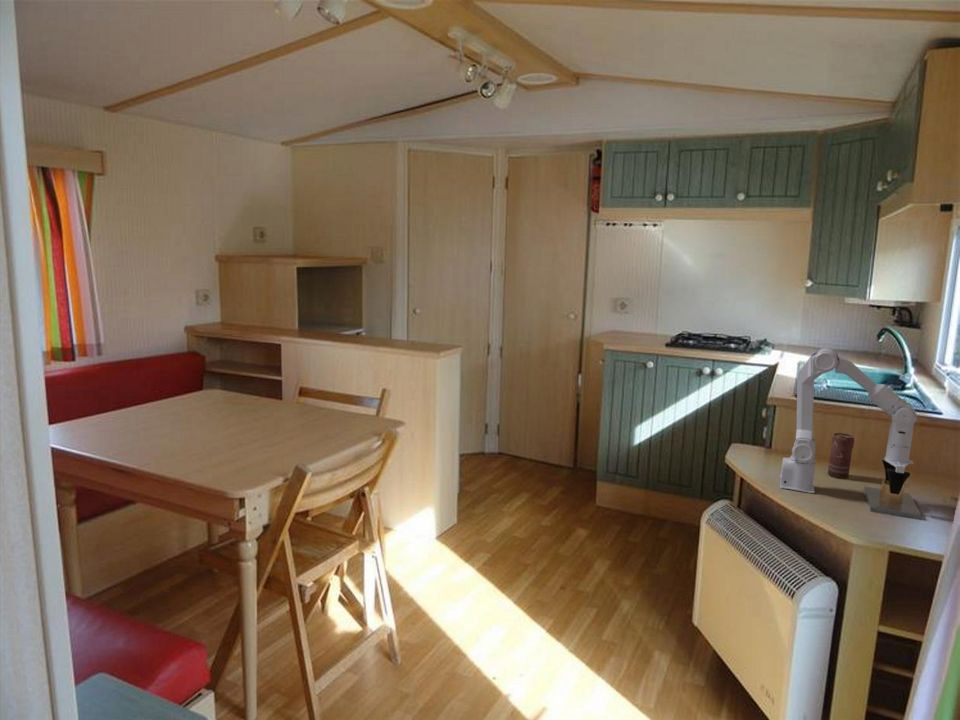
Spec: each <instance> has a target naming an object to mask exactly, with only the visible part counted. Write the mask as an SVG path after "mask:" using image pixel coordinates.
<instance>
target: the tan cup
mask: <svg viewBox="0 0 960 720" xmlns="http://www.w3.org/2000/svg"><path fill="white" fill-rule="evenodd" d="M888 483H889V480H886V479H885V480H881V485H880V489H881V491H880V499H882V500H883V501H886V502H890V503H902V501H903V494H904V493H905V487H906V486H905V483H904V484H903V486H902V489H901V491H900V493H899V494H892V493H890V487H889V484H888Z"/></svg>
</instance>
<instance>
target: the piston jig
mask: <svg viewBox="0 0 960 720" xmlns="http://www.w3.org/2000/svg"><path fill="white" fill-rule="evenodd" d="M888 484H889V483H888ZM862 489H863V490H862V491H863V494H864V497H865V500H866V503H867V506H868V508H869V511H870V512H872V513H873V512H874V513H879V514H884V515H891V516H896V517H903V518H908V519H914V520H918V521H919V520H921V518H922V517H921V515H922V514H921V513H920V510H919V508H918V506H917V505H916V503H915V501H914V499H913V497H912V495H911V494H910V493H907V492H904V494H903V501H902V503H890V502H886V501H883V500H882V499H880V491H881V488H875V487H870V486H863V488H862Z"/></svg>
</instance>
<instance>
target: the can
mask: <svg viewBox="0 0 960 720" xmlns="http://www.w3.org/2000/svg"><path fill="white" fill-rule="evenodd" d="M854 444H855V437H854V436H853V435H851V434H846V433H842V432H841V433H840V432H837V433H833V435H832V438H831V444H830V445H831V446H830V452H829V458H828V459H829V461H828V467H827V474H828V476H830V477H832V478H834V479H838V480H839V479H841V480H844V479H845V480H846V479H848V478H849V477H850V476H849V475H850V469H851V461H852V455H853V448H854Z"/></svg>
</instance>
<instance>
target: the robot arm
mask: <svg viewBox="0 0 960 720" xmlns="http://www.w3.org/2000/svg"><path fill="white" fill-rule="evenodd" d="M833 370H834V373H835V374H842V375H843V374H844V375H846V377H848V378H850V379H851V380H852V381H854V382H855V383H856V384H858V385H859V386H860V387H861V388H863V390H865V391H866V392H867V394H868V395H867V396H868V399H869V400H870V401H871V402H873V404H875V405H876V406H877V407H878V408H880V409H881V410H882V411H883V412H884V413H885V414H887V415H890V416H891V423H890V427H889V430H888V431H889V432H888V438H887V443H886V449H885V450H886V451H885V452H886V453H885V456H884V458H883V459H882V460H881V462H882V464H883V468H884V475H885V480H889V487H890V493H892V494H899V493H900V491H901V489H902V486H903V484H904V485H905V483H906V481H907V480H908V479H909V477H910V476H911V473H910V472H909V471H905V469H906V467H908V466H909V465H914V461H913V460H911V459H910V453H911V447H912V441H913V435H914V430H913V429H914V424H915V423H916V422H917V419H918V417H917V412H916V410H915V408H914V406H912V405H911V403H909V402H907V399H905V398H902V397H900V395H898V394H897V393H895V392H894V389H893V387H892V386H890V385H886V384H884V383H881V384H877V383H876V382H875V381H874V380H873V379H871V378H870V376H868V375H867V374H866V373H865V372H864V371H862V369H860V368H859V367H858V366H856V365H855V364H854V362H852V361H851V360H849V359H848V358H847V357H846V356H844V355H843V354H840V353H838V352H837V351H836V350H835V349H833V348H832V347H822V348H820V349H818V350H816V351H814V352H813V353H812V354H811V355H810V357H809V358H808V359H807V360H806V362H804V364H803V365H802V367H801V368H800V369H798V372H797V381H796V382H797V383H796V385H797V388H796V431H795V433H796V434H795V440H794V443H793V447H792V449H791V455H790V457H783V458H782V463H781V471H780V472H781V473H780V474H779V479H778V480H779V483H780V485H779V487H780V488H781V489H785V490H786V489H787V490H792V491H798V492H803V493H809V494H815V485H814V480H815V479H814V478H815V470H816V465H817V460H816V458H815V456H816V450H817V443H816V441H815V438H814V405H815V404H814V398H815V397H814V395H815V393H814V392H815V391H814V389H815V380H817V378H819V377H820V376H822V375H823V374H826V373H830V372H832V371H833Z"/></svg>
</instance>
